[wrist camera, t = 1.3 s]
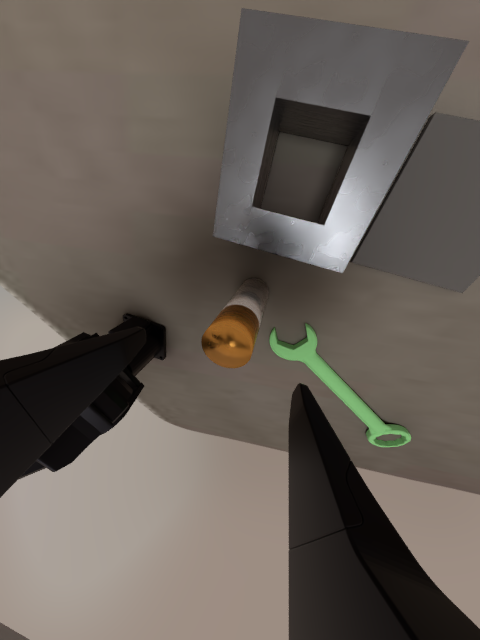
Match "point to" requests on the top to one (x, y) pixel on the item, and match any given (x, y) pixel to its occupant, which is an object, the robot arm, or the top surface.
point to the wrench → (338, 387)
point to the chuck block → (323, 123)
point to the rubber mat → (432, 210)
